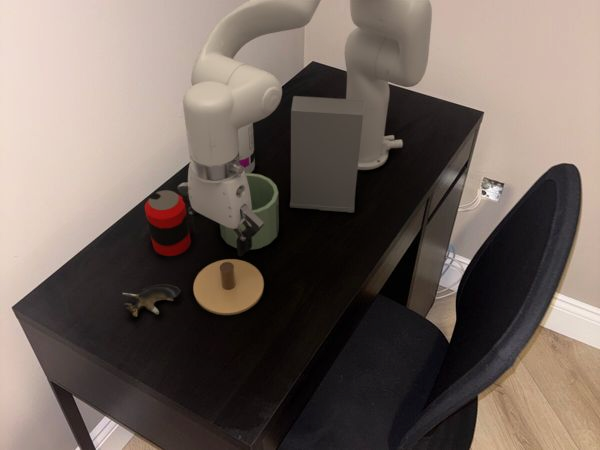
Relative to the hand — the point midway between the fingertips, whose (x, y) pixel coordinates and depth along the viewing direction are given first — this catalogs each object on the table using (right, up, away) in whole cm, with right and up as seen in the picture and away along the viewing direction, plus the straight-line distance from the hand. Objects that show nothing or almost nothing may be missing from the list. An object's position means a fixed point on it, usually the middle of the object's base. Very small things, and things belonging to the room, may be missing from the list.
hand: (222, 239), depth 105 cm
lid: (0, -9, +9) cm, 13 cm away
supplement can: (-1, +16, +36) cm, 39 cm away
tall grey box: (+18, +8, +28) cm, 34 cm away
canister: (+3, +1, +21) cm, 21 cm away
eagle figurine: (-13, -13, +6) cm, 20 cm away
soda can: (-13, -1, +18) cm, 22 cm away
